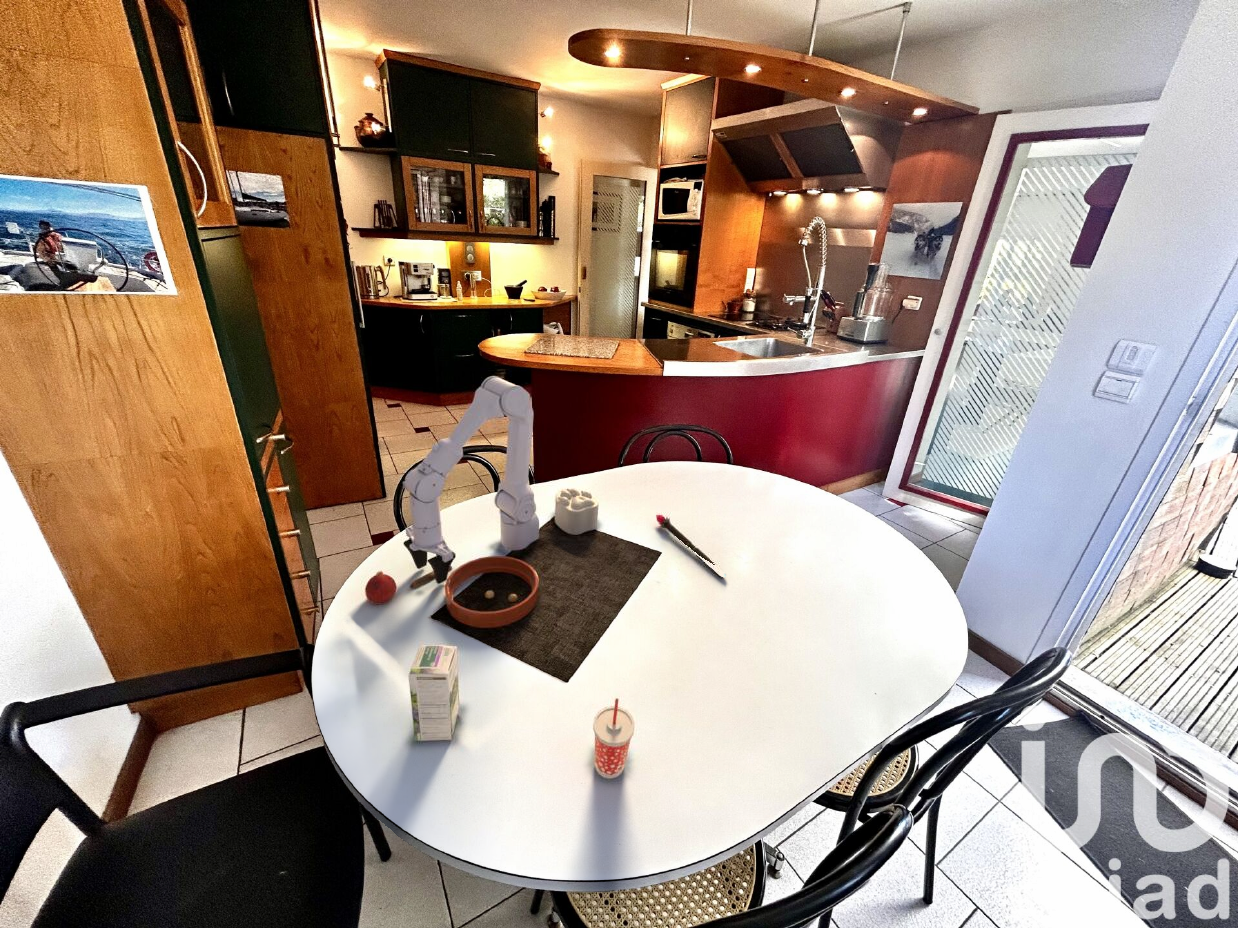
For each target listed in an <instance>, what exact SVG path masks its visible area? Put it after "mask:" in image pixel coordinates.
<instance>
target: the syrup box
mask: <svg viewBox="0 0 1238 928" xmlns="http://www.w3.org/2000/svg"><path fill="white" fill-rule="evenodd" d="M457 648H458V647H457V646H455V645H444V644H443V645H442V644H426V645H420V646H419V647H418V649H417V653H416V655H415V657H414V660H413V662H412V666H411V668H410V671H409V673H408V686H409V695H410V705H411V713H412V722H413V723H412V725H413V734H414V741H416V742H418V741H419V742H420V741H421V742H425V741H427V742H429V741H452V740H453V737H454V733H455V729H456V724H457V721H458V717H459V714H458V712H459V708H460V691H459V690H460V689H459V687H460V686H459V668H458V652H457V651H458V649H457Z"/></svg>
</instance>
